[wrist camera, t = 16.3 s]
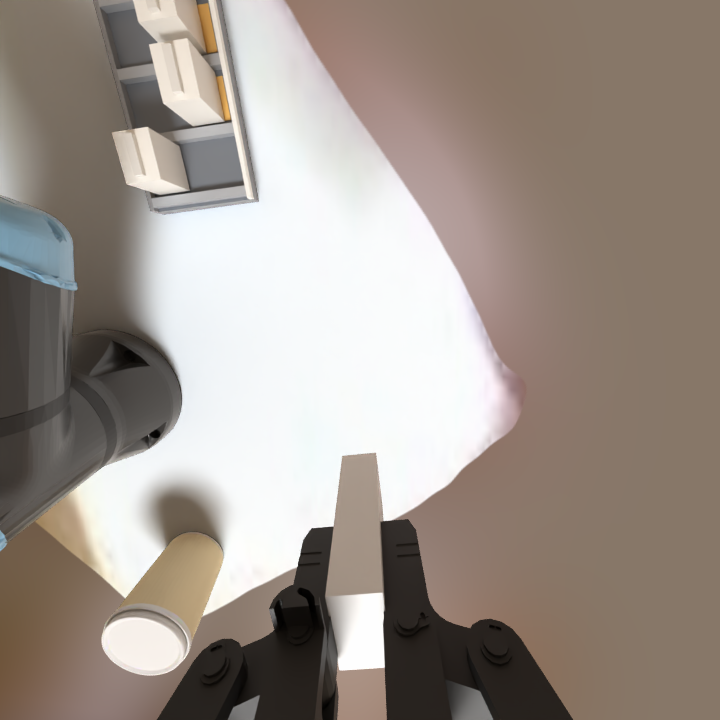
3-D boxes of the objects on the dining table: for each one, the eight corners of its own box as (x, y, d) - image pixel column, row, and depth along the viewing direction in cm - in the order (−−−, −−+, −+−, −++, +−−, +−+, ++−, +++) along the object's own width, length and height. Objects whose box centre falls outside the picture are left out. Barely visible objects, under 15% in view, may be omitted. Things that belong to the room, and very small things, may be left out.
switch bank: (164, 214, 35) (150, 211, 33) (110, 10, 30) (90, -9, 28) (258, 201, 34) (251, 197, 32) (219, -8, 30) (207, -30, 28)
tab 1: (173, 59, 30) (133, 17, 25) (161, 5, 29) (117, -50, 24) (206, 53, 30) (173, 10, 24) (195, -1, 28) (158, -58, 23)
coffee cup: (149, 544, 47) (79, 635, 36) (201, 516, 46) (145, 602, 34) (192, 588, 49) (139, 688, 38) (243, 563, 48) (203, 658, 36)
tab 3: (160, 195, 33) (122, 182, 28) (148, 150, 32) (106, 129, 27) (190, 190, 33) (157, 177, 28) (179, 146, 32) (143, 124, 26)
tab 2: (193, 126, 31) (159, 100, 26) (182, 77, 30) (144, 40, 25) (224, 121, 31) (197, 94, 26) (214, 72, 30) (183, 33, 25)
